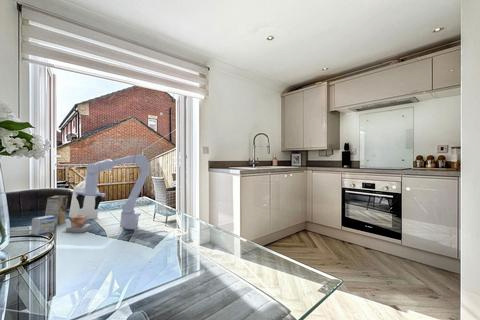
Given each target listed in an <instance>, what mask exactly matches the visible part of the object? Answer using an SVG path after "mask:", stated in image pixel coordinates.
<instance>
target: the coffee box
mask: <svg viewBox="0 0 480 320" xmlns="http://www.w3.org/2000/svg"><path fill="white" fill-rule="evenodd" d="M68 202H69V195H61V194H60V195H57V194H56V195H53V196H50V197H47V198H46V206H45V207H46V208H45V215H44V216H48V215H52V216H55V226H54V227H58V226H60V225H62V224H63V223H66V219H67V211H68Z"/></svg>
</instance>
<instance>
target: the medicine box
mask: <svg viewBox="0 0 480 320" xmlns="http://www.w3.org/2000/svg"><path fill="white" fill-rule="evenodd" d="M55 227H56V226H55V216H52V215H48V216H45V215H44V216H38V217H33V218H32V219H31V227H30V228H31V229H30V235H35V236H39V235H43V234H47V233H51V232H54V231H55Z"/></svg>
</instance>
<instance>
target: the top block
mask: <svg viewBox="0 0 480 320" xmlns="http://www.w3.org/2000/svg"><path fill="white" fill-rule="evenodd" d="M90 228H92V224H90V223H86V225H84V226H83V227H71V224H70V225H68V226H67V227H65V230H66V231H68V232H84V231H86V230H88V229H90ZM90 230H91V229H90Z"/></svg>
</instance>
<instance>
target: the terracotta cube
mask: <svg viewBox="0 0 480 320" xmlns="http://www.w3.org/2000/svg"><path fill="white" fill-rule="evenodd" d="M86 217H87V215H75V216H73V217H72V218H71V222H70V225H71V227H83V226H84V225H86V224H87V223H86V222H87V220H86Z"/></svg>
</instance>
